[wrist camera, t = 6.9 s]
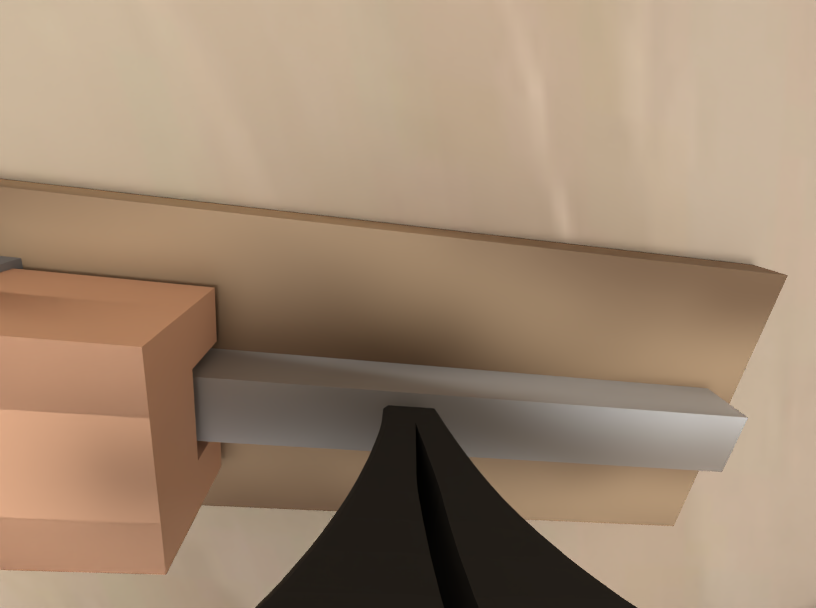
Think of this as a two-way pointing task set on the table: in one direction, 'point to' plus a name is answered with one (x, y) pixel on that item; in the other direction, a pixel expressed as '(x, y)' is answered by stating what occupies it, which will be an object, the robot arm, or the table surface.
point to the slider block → (100, 421)
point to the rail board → (429, 347)
